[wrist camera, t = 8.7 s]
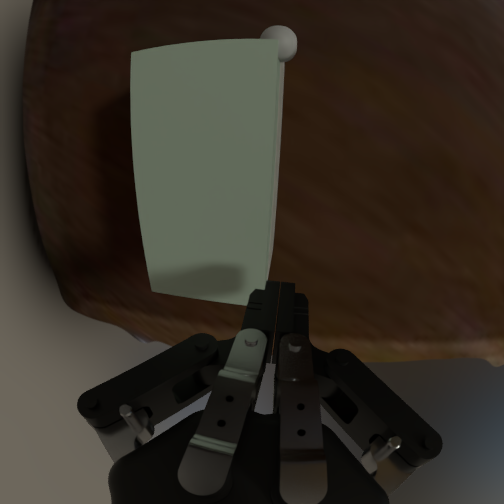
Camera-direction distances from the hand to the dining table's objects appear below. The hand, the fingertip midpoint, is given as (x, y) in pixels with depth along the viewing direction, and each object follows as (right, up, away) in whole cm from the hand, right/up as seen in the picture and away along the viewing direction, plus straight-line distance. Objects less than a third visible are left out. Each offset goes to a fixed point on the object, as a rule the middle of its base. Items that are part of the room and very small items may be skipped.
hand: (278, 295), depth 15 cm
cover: (-4, +7, +2) cm, 9 cm away
